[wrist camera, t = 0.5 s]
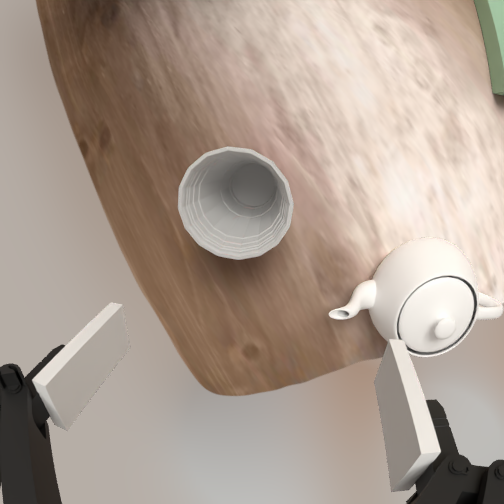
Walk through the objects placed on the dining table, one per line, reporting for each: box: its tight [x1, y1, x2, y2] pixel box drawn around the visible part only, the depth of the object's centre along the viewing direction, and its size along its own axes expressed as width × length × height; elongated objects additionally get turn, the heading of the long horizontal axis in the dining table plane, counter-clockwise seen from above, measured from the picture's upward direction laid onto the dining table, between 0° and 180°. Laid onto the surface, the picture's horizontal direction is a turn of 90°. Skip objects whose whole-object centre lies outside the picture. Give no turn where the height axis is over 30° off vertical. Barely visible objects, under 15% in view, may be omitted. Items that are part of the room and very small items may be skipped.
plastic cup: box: [178, 146, 294, 260], centre depth 34 cm, size 11×11×12 cm
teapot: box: [329, 237, 503, 357], centre depth 35 cm, size 25×16×12 cm, turn 89°
